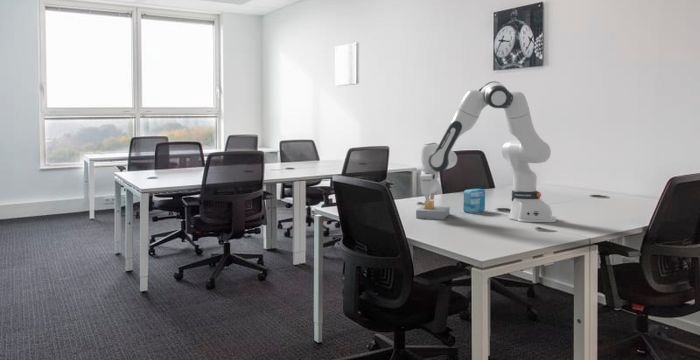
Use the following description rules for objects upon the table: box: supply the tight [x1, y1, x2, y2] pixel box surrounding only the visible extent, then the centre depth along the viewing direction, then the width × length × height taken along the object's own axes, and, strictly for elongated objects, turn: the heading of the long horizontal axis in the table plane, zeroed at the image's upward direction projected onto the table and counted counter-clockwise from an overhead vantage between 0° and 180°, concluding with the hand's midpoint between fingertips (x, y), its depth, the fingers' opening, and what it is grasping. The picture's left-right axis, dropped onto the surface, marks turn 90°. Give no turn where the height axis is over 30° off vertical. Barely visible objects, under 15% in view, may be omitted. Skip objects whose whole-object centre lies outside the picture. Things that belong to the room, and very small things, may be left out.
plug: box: [424, 199, 435, 209], centre depth 271 cm, size 4×4×8 cm
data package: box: [462, 188, 486, 214], centre depth 282 cm, size 12×4×12 cm, turn 124°
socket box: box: [415, 204, 451, 221], centre depth 271 cm, size 14×16×4 cm
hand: (430, 201), depth 271 cm, fingers open, 8 cm apart
